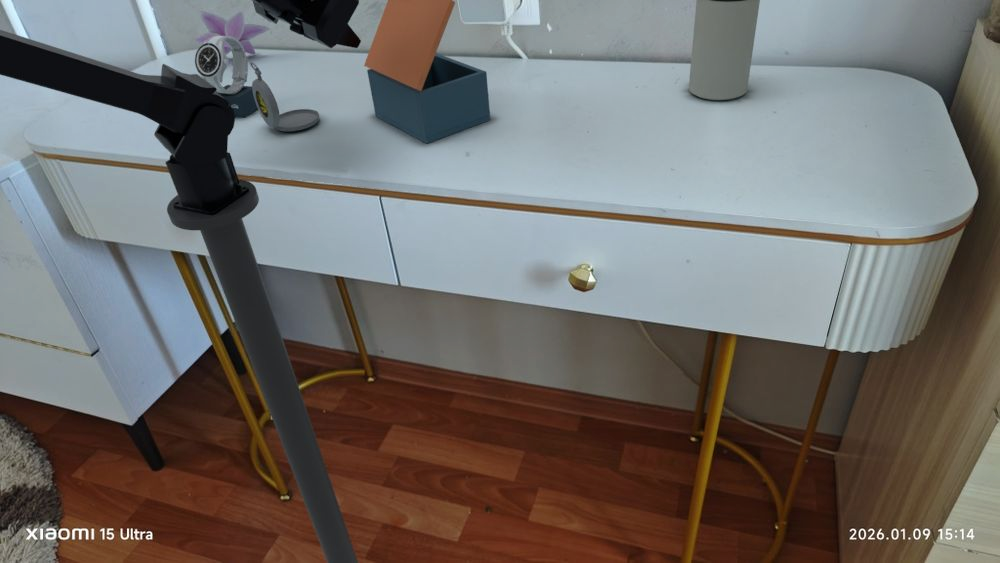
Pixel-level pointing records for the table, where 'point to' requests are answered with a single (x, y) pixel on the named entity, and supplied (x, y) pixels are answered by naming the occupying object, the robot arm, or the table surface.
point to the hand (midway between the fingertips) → (358, 44)
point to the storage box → (433, 100)
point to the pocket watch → (271, 113)
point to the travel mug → (722, 48)
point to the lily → (230, 30)
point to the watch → (214, 64)
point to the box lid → (409, 39)
